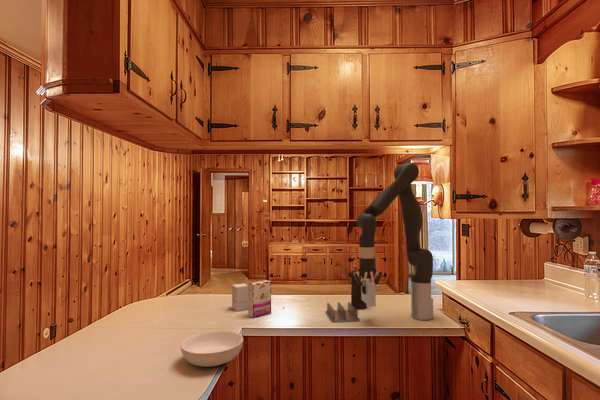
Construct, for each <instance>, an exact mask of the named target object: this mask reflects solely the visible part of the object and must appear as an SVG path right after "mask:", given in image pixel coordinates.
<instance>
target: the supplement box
mask: <svg viewBox="0 0 600 400" xmlns="http://www.w3.org/2000/svg"><path fill="white" fill-rule="evenodd" d="M231 309H233V310H234V311H235V310H236V312H241V311H248V283H247V284H246V283H236V284H232V285H231Z"/></svg>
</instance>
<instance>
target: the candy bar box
mask: <svg viewBox="0 0 600 400" xmlns="http://www.w3.org/2000/svg"><path fill="white" fill-rule="evenodd" d="M271 283H272V281H271V280H267V279H263V280H258V281H252V282H248V283H247V285H248V310H247V316H248V317H249V316H250V318H252V319H255V318H260V317H264V316H267V315H270V314H272V284H271Z"/></svg>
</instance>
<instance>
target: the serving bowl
mask: <svg viewBox="0 0 600 400" xmlns="http://www.w3.org/2000/svg"><path fill="white" fill-rule="evenodd" d="M243 343H244V337H243V335H241V334H240V333H239V332H236V331H232V330H208V331H203V332H199V333H195V334H193V335H190V336H188V337H187V338H185V339H183V341H182V342H181V343H180V350H181V354H182V356H183V358H184V359H185V361H186V362H188V363H190V364H191V365H193V366H196V367H203V368H204V367H207V368H208V367H215V366H217V367H218V366H220V365H224V364H226V363H228V362H230V361H232V360H234V359H235V358H236V357H237V356H238V355H239V353H240V352H241V350H242V348H243Z"/></svg>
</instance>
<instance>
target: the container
mask: <svg viewBox="0 0 600 400" xmlns="http://www.w3.org/2000/svg"><path fill="white" fill-rule="evenodd" d="M358 270H359V269H352V270H351V271H349V274H350V275H351V281H350V284H351V285H350V286H351V289H350V290H351V291H350V293H351V294H350V295H351V297H350V303H351V304H352V305H353V306H354V307H355V308H356V309H357V310H366V309H367V308H368V305H367V304H366V303H365V302H364V301H362V299H361V285H359V284H358V283H357V281H356V279H355V277H354V275H353V273H354V272H357V271H358ZM358 277H359V279H360V282H361V279H362V276H361V275H360V273H359V276H358Z"/></svg>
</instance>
